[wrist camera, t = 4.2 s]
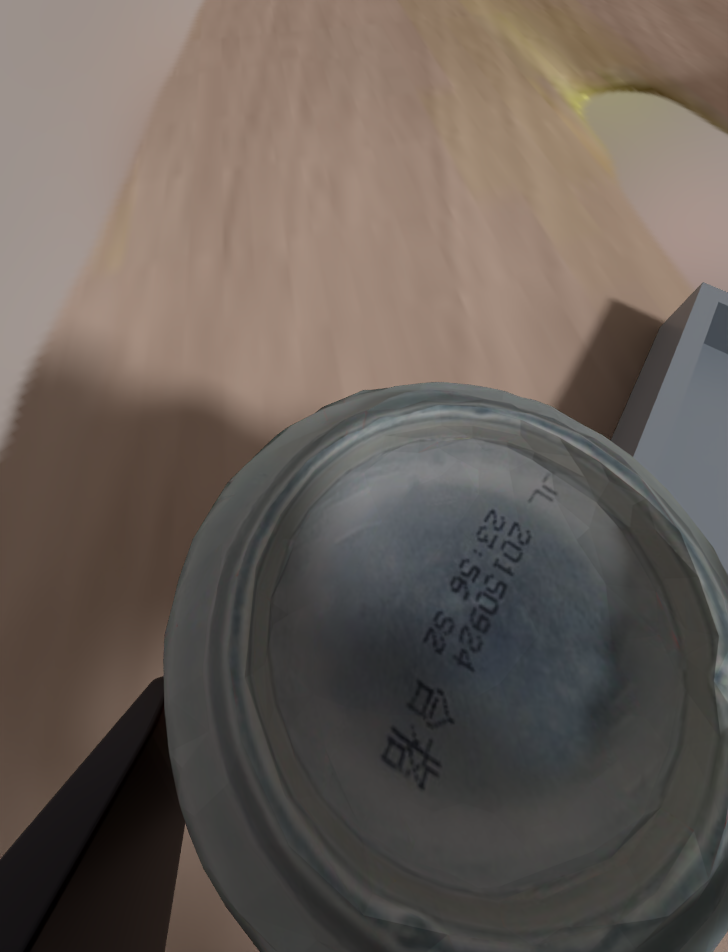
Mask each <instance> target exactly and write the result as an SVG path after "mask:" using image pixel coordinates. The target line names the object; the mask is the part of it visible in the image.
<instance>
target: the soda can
mask: <svg viewBox="0 0 728 952" xmlns="http://www.w3.org/2000/svg"><path fill="white" fill-rule="evenodd" d="M163 664H164V709H165V719H166V728H167V738H168V748H169V755H170V760H171V765H172V770H173V776H174V781H175V786H176V791H177V795H178V800H179V804H180V807H181V810H182V814H183V817H184V820H185V823H186V826H187V829H188V832H189V835H190V837H191V840H192V842H193V845H194V847H195V849H196V852H197V854H198V857H199V859H200V861H201V864H202V866H203V869H204V870H205V872H206V874H207V875H208V877H209V879H210V880H211V882H212V884H213V886H214V887H215V889H216V891H217V892H218V894H219V896H220V897H221V899H222V901H223V902H224V904H225V906H226V908H227V909H228V910H229V912H230V913H231V914H232V915H233V917H234V918H235V919H236V921H237V922H238V923H239V925H240V926H241V927H242V929H243V930H244V931H245V933H246V934H247V935H248V937H249V938H250V939H251V941H252V942H253V943H254V945H255V946H256V947H257V949H258V950H259V951H260V952H713V951H714V950H715V948H716V947H717V945H718V944H719V942H720V941H721V940H722V938H723V937H724V935H725V934H726V933H727V931H728V575H727V573H726V571H725V569H724V567H723V565H722V563H721V562H720V560H719V558H718V556H717V554H716V551H715V549H714V548H713V546H712V545H711V544H710V542H709V541H708V540H707V539H706V537H705V536H704V535H703V533H702V532H701V531H700V530H699V528H698V527H697V526H696V524H695V523H694V522H693V520H692V519H691V518H690V517H689V515H688V514H687V513H686V512H685V510H684V509H683V508H682V507H681V505H680V504H679V503H678V502H677V501H676V499H675V498H674V497H673V496H672V494H671V493H670V492H669V491H668V490H667V488H665V487H664V486H663V485H662V484H661V483H660V482H659V481H658V480H657V479H656V478H655V477H654V476H653V475H652V474H651V473H650V472H649V471H648V470H647V469H645V468H644V467H643V466H642V465H641V464H640V463H639V462H638V461H637V460H636V459H634V458H633V457H632V456H631V455H630V454H628V453H627V452H625V451H624V450H623V449H621V448H620V447H618V446H617V445H616V444H614V443H613V442H611V441H610V440H609V439H607V438H606V437H604V436H603V435H601V434H599V433H597V432H595V431H594V430H592V429H590V428H588V427H586V426H584V425H582V424H580V423H579V422H577V421H575V420H573V419H572V418H570V417H568V416H567V415H565V414H563V413H562V412H560V411H558V410H557V409H555V408H553V407H551V406H549V405H546V404H544V403H541V402H538V401H536V400H532V399H527V398H522V397H519V396H516V395H514V394H511V393H508V392H506V391H502V390H497V389H492V388H487V387H481V386H475V385H469V384H457V383H446V382H430V383H419V384H411V385H402V386H394V387H391V388H384V389H375V390H363V391H360V392H358V393H355V394H353V395H351V396H348V397H346V398H344V399H341V400H339V401H336V402H334V403H331V404H329V405H327V406H324V407H322V408H321V409H320V410H318V411H317V412H316V413H314V414H313V415H311V416H309V417H307V418H305V419H303V420H301V421H299V422H297V423H295V424H293V425H291V426H289V427H288V428H286V429H285V430H283V431H282V432H280V433H279V434H278V435H277V436H275V437H274V438H273V439H272V440H271V441H270V442H269V443H268V444H267V445H266V446H265V447H264V448H263V449H262V450H261V451H260V452H259V453H258V454H257V455H256V456H255V457H254V458H253V459H252V460H250V461H249V462H248V463H247V464H246V465H245V466H244V467H243V468H242V469H241V470H240V471H239V472H238V473H237V474H236V475H235V476H234V477H233V478H232V479H231V480H230V481H229V482H228V483H227V485H226V486H225V488H224V489H223V491H222V492H221V494H220V496H219V497H218V499H217V500H216V502H215V503H214V505H213V507H212V508H211V510H210V512H209V513H208V515H207V517H206V518H205V520H204V522H203V523H202V525H201V527H200V528H199V530H198V532H197V533H196V535H195V537H194V538H193V540H192V543H191V546H190V549H189V552H188V554H187V557H186V560H185V563H184V566H183V569H182V571H181V574H180V577H179V580H178V584H177V589H176V593H175V597H174V601H173V605H172V609H171V613H170V616H169V620H168V624H167V628H166V632H165V639H164V659H163Z"/></svg>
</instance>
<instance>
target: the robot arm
mask: <svg viewBox="0 0 728 952" xmlns="http://www.w3.org/2000/svg"><path fill="white" fill-rule="evenodd" d="M184 828H185V820H184V817H183V814H182V810H181V807H180V804H179V800H178V795H177V791H176V786H175V781H174V776H173V770H172V765H171V760H170V755H169V748H168V738H167V728H166V719H165V709H164V676H162V677H159V678H156V679H154V680H153V681H152V682H151V683H150V684H149V685H148V687H147V688H146V689H145V690H144V691H143V692H142V694H141V695H140V696H139V697H138V698H137V699H136V701H135V702H134V703H133V704H132V705H131V707H130V708H129V709H128V710H127V711H126V712H125V714H124V715H123V716H122V717H121V718H120V719H119V721H118V722H117V723H116V724H115V725H114V726H113V728H112V729H111V730H110V731H109V732H108V733H107V735H106V736H105V737H104V738H103V739H102V740H101V742H100V743H99V744H98V745H97V746H96V748H95V749H94V750H93V751H92V752H91V753H90V755H89V756H88V757H87V758H86V759H85V760H84V762H83V763H82V764H81V765H80V766H79V767H78V769H77V770H76V771H75V772H74V773H73V774H72V776H71V777H70V778H69V779H68V780H67V782H66V783H65V784H64V785H63V786H62V787H61V789H60V790H59V791H58V792H57V793H56V794H55V796H54V797H53V798H52V799H51V800H50V801H49V803H48V804H47V805H46V806H45V807H44V808H43V810H42V811H41V812H40V813H39V814H38V815H37V817H36V818H35V819H34V820H33V821H32V823H31V824H30V825H29V826H28V827H27V828H26V830H25V831H24V832H23V833H22V834H21V835H20V837H19V838H18V839H17V840H16V841H15V842H14V844H13V845H12V846H11V847H10V848H9V849H8V851H7V852H6V853H5V854H4V855H3V856H2V858H1V859H0V952H165V946H166V940H167V933H168V927H169V921H170V915H171V909H172V902H173V896H174V890H175V884H176V878H177V871H178V865H179V859H180V853H181V846H182V840H183V834H184Z"/></svg>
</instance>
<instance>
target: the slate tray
mask: <svg viewBox="0 0 728 952" xmlns="http://www.w3.org/2000/svg"><path fill="white" fill-rule="evenodd" d="M611 442H613V443H614V444H616V445H617V446H618V447H620V448H621V449H623V450H624V451H625V452H627V453H628V454H630V455H631V456H632V457H633V458H634V459H636V460H637V461H638V462H639V463H640V464H641V465H642V466H643V467H644V468H645V469H647V470H648V471H649V472H650V473H651V474H652V475H653V476H654V477H655V478H656V479H657V480H658V481H659V482H660V483H661V484H662V485H663V486H664V487H665V488H667V490H668V491H669V492H670V493H671V494H672V496H673V497H674V498H675V499H676V501H677V502H678V503H679V504H680V505H681V507H682V508H683V509H684V510H685V512H686V513H687V514H688V515H689V517H690V518H691V519H692V520H693V522H694V523H695V524H696V526H697V527H698V528H699V530H700V531H701V532H702V533H703V535H704V536H705V537H706V539H707V540H708V541H709V542H710V544H711V545H712V546H713V548H714V549H715V551H716V554H717V556H718V558H719V560H720V562H721V563H722V565H723V567H724V569H725V571H726V573H727V575H728V292H725V291H723V290H720V289H718V288H715V287H713V286H711V285H708V284H706V283H704V282H703V283H702V284H701V285H700V286H699V287H698V288H697V289H696V290H695V291H694V292H693V293H692V294H691V295H690V296H689V297H688V298H687V299H686V300H685V302H684V303H683V304H682V305H681V306H680V307H679V308H678V309H677V310H676V311H675V312H674V313H673V314H672V315H671V316H670V317H669V318H668V319H667V320H666V321H665V323H664V324H663V325H662V326H661V327H660V329H659V331H658V334H657V336H656V338H655V340H654V343H653V345H652V347H651V349H650V352H649V354H648V356H647V359H646V361H645V363H644V365H643V368H642V370H641V372H640V375H639V377H638V379H637V381H636V384H635V386H634V388H633V391H632V393H631V395H630V397H629V400H628V402H627V404H626V407H625V409H624V411H623V413H622V416H621V418H620V420H619V423H618V425H617V427H616V429H615V432H614V434H613V436H612V439H611Z"/></svg>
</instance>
